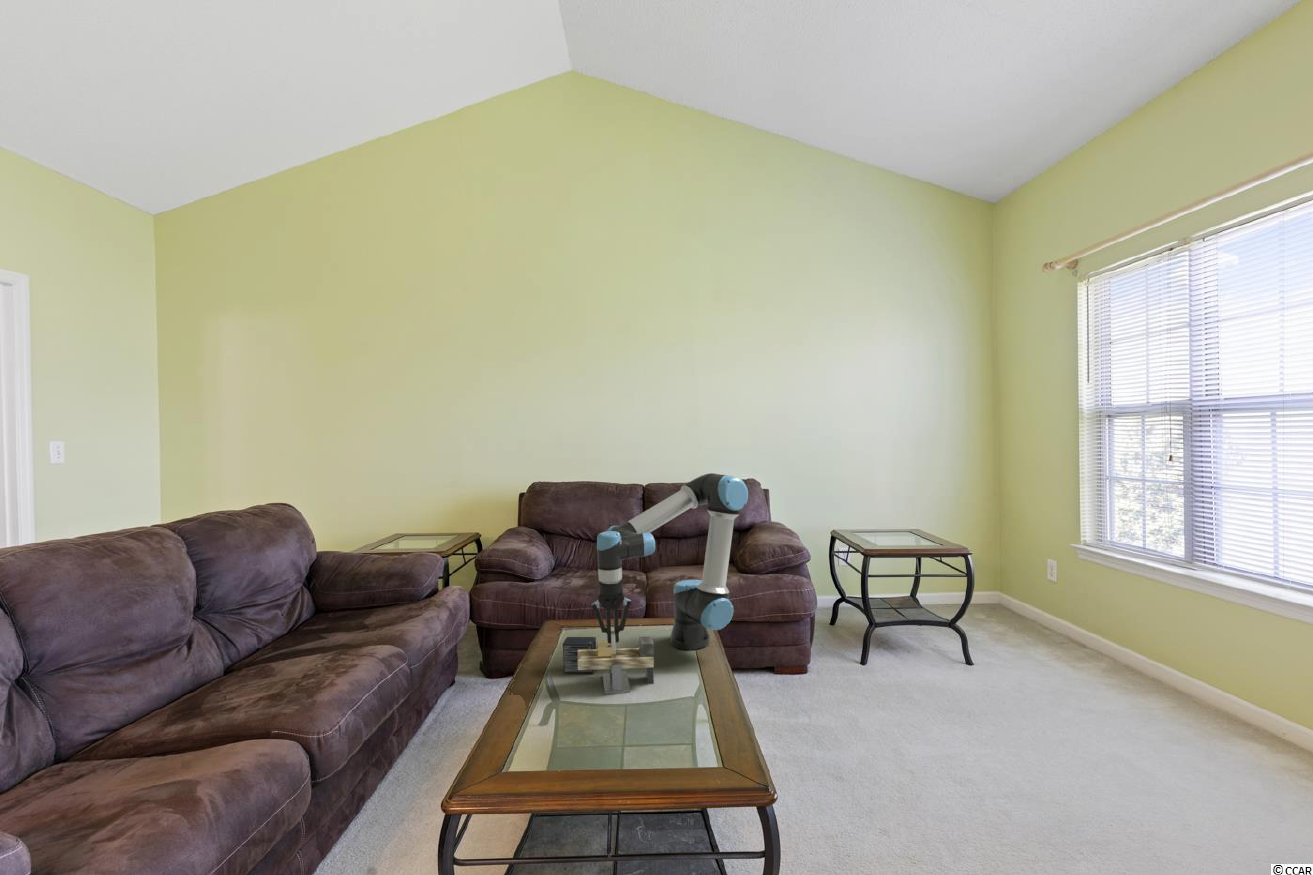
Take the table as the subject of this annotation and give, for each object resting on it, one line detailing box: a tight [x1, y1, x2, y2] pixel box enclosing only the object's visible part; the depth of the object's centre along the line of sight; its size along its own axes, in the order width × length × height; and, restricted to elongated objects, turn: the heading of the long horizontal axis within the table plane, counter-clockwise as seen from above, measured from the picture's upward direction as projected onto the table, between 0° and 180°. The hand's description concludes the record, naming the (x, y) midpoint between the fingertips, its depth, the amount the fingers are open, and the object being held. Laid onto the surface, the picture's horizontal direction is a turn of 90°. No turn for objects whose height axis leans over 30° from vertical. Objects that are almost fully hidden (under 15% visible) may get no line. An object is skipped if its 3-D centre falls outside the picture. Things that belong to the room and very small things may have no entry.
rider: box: [596, 641, 612, 659], centre depth 177 cm, size 4×4×5 cm
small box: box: [562, 636, 597, 675], centre depth 189 cm, size 11×6×10 cm, turn 84°
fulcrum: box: [601, 647, 655, 696], centre depth 179 cm, size 16×12×9 cm
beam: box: [578, 635, 655, 670], centre depth 178 cm, size 24×9×7 cm, turn 99°
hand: (613, 652), depth 178 cm, fingers closed
